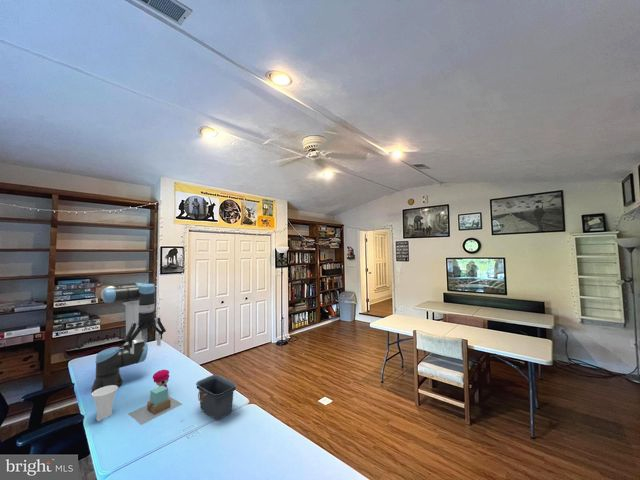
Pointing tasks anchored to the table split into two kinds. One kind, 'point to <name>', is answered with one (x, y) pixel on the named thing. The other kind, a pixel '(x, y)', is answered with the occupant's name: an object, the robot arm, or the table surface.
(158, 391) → the teal brick
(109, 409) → the cup
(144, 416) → the build plate
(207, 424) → the table surface
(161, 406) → the walnut brick
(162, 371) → the toy
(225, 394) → the storage bin
